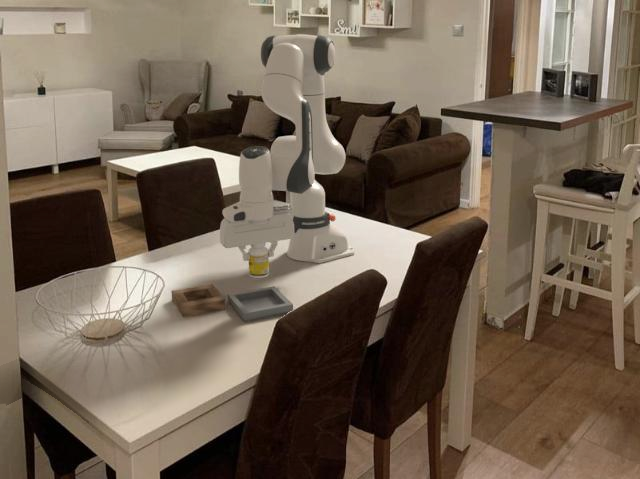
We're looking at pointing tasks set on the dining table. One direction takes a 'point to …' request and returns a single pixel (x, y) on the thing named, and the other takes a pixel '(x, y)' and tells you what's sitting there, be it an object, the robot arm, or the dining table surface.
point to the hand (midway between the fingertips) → (258, 258)
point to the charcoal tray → (259, 303)
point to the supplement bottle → (258, 261)
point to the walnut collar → (198, 306)
